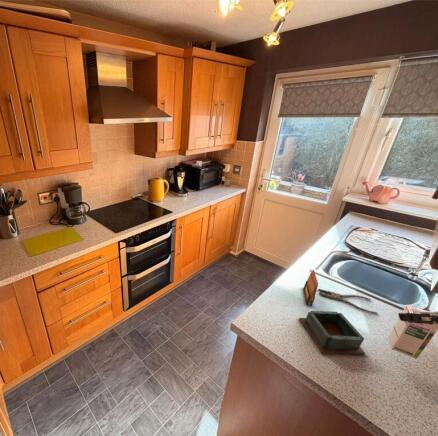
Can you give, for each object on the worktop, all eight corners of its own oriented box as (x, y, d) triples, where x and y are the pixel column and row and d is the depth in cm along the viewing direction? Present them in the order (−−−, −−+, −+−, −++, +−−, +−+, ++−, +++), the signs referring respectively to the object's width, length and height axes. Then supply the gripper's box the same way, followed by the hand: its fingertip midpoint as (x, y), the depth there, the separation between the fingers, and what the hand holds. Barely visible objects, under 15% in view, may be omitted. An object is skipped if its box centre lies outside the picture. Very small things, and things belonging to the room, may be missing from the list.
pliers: (383, 313, 92) (325, 303, 97) (382, 315, 93) (325, 305, 97) (369, 296, 101) (317, 288, 106) (368, 298, 101) (316, 289, 106)
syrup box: (390, 349, 72) (412, 316, 66) (387, 336, 77) (407, 303, 71) (416, 359, 69) (442, 325, 63) (411, 344, 74) (434, 311, 68)
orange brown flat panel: (303, 288, 107) (310, 267, 102) (307, 290, 106) (315, 269, 101) (306, 304, 98) (315, 282, 93) (311, 306, 97) (320, 284, 92)
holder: (335, 321, 90) (340, 309, 88) (364, 355, 78) (371, 343, 75) (298, 319, 91) (303, 308, 88) (321, 353, 78) (327, 341, 76)
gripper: (511, 305, 55) (434, 304, 70) (448, 303, 56) (385, 303, 71) (528, 340, 53) (444, 331, 68) (462, 338, 53) (393, 330, 68)
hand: (414, 317), depth 69 cm, fingers closed on syrup box, 7 cm apart
